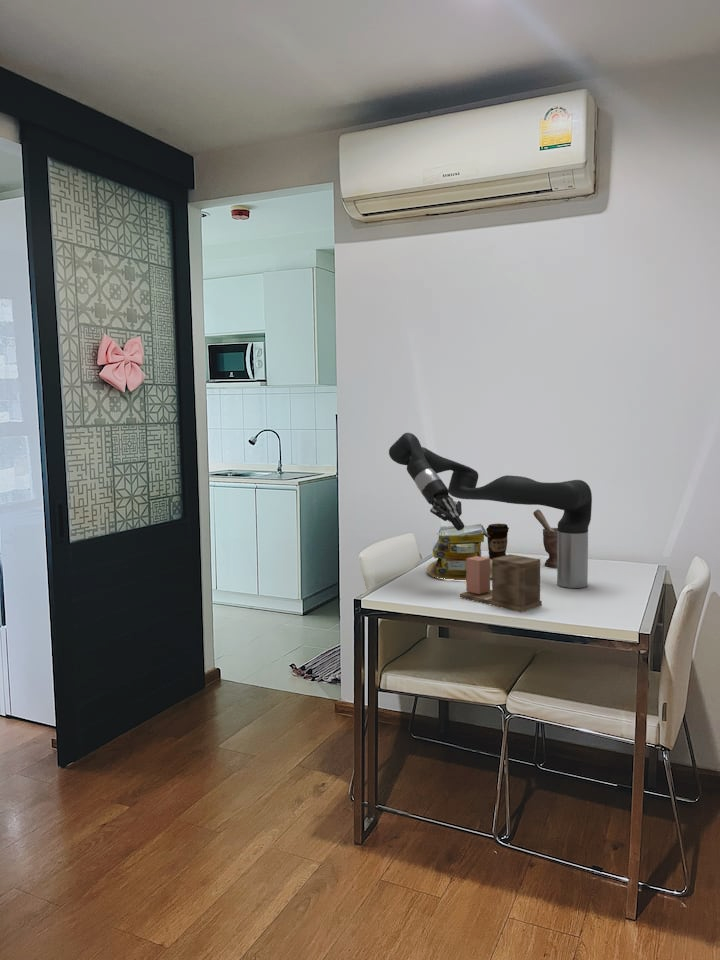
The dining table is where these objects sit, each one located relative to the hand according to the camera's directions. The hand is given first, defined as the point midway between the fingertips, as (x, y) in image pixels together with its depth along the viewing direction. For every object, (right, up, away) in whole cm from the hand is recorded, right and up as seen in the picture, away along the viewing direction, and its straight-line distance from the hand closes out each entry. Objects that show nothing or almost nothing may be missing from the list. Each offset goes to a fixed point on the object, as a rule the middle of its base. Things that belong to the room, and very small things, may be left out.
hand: (461, 528), depth 222 cm
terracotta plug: (+5, -19, -3) cm, 19 cm away
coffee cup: (+20, -15, +49) cm, 55 cm away
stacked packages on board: (+5, -17, +27) cm, 33 cm away
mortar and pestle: (+37, -16, +36) cm, 54 cm away
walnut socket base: (+9, -21, -8) cm, 24 cm away
